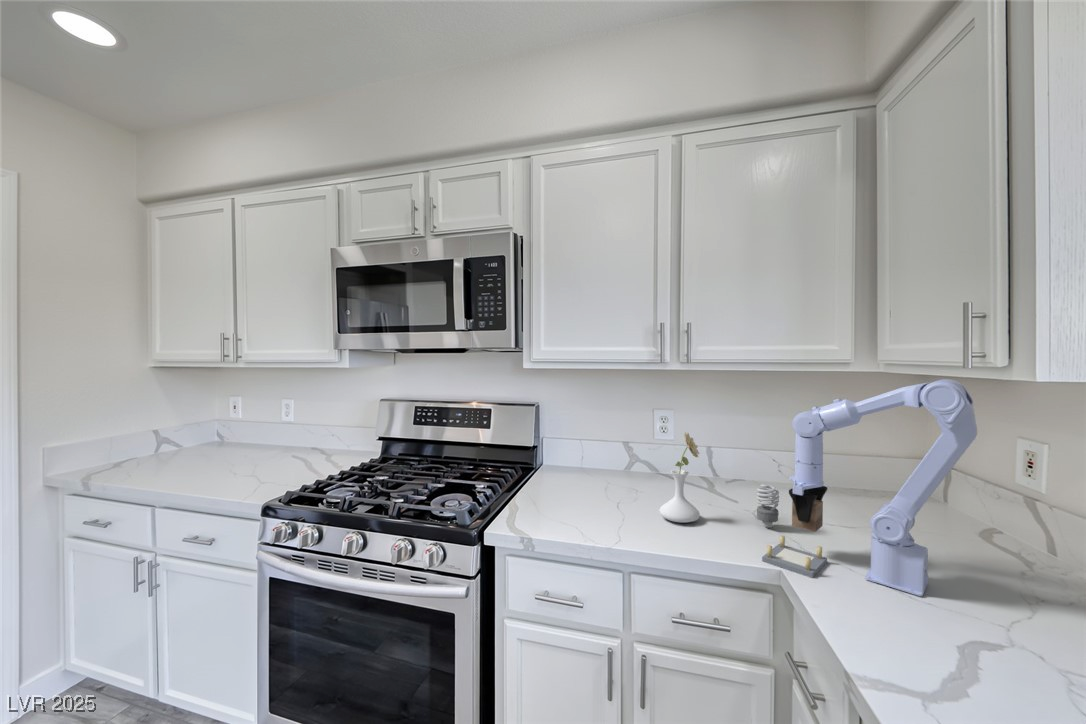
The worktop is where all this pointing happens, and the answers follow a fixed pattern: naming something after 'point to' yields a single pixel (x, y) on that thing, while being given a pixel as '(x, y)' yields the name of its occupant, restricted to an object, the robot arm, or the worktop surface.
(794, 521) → the walnut block
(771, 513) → the light bulb
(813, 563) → the standoff board
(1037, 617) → the worktop surface
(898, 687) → the worktop surface
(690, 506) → the flower in vase
